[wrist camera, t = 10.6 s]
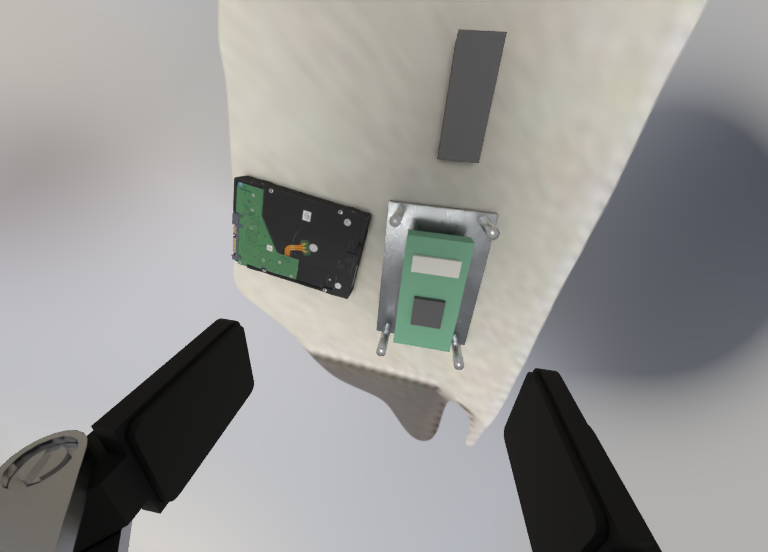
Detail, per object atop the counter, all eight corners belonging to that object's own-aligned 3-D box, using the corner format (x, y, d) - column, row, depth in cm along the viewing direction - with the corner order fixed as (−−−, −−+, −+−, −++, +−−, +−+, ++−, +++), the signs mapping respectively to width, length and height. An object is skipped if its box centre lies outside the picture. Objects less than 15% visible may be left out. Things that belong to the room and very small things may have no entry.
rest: (455, 44, 24) (458, 29, 21) (497, 46, 23) (506, 32, 20) (437, 158, 27) (438, 159, 24) (473, 162, 27) (478, 163, 24)
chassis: (390, 200, 29) (381, 210, 24) (496, 212, 28) (511, 226, 23) (378, 325, 36) (368, 356, 31) (463, 340, 35) (469, 374, 29)
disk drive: (373, 210, 31) (247, 174, 31) (368, 215, 28) (231, 175, 29) (354, 290, 35) (243, 257, 36) (348, 300, 33) (229, 265, 33)
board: (408, 229, 27) (406, 236, 24) (471, 237, 26) (475, 245, 24) (395, 331, 32) (392, 345, 29) (448, 340, 31) (449, 355, 29)
